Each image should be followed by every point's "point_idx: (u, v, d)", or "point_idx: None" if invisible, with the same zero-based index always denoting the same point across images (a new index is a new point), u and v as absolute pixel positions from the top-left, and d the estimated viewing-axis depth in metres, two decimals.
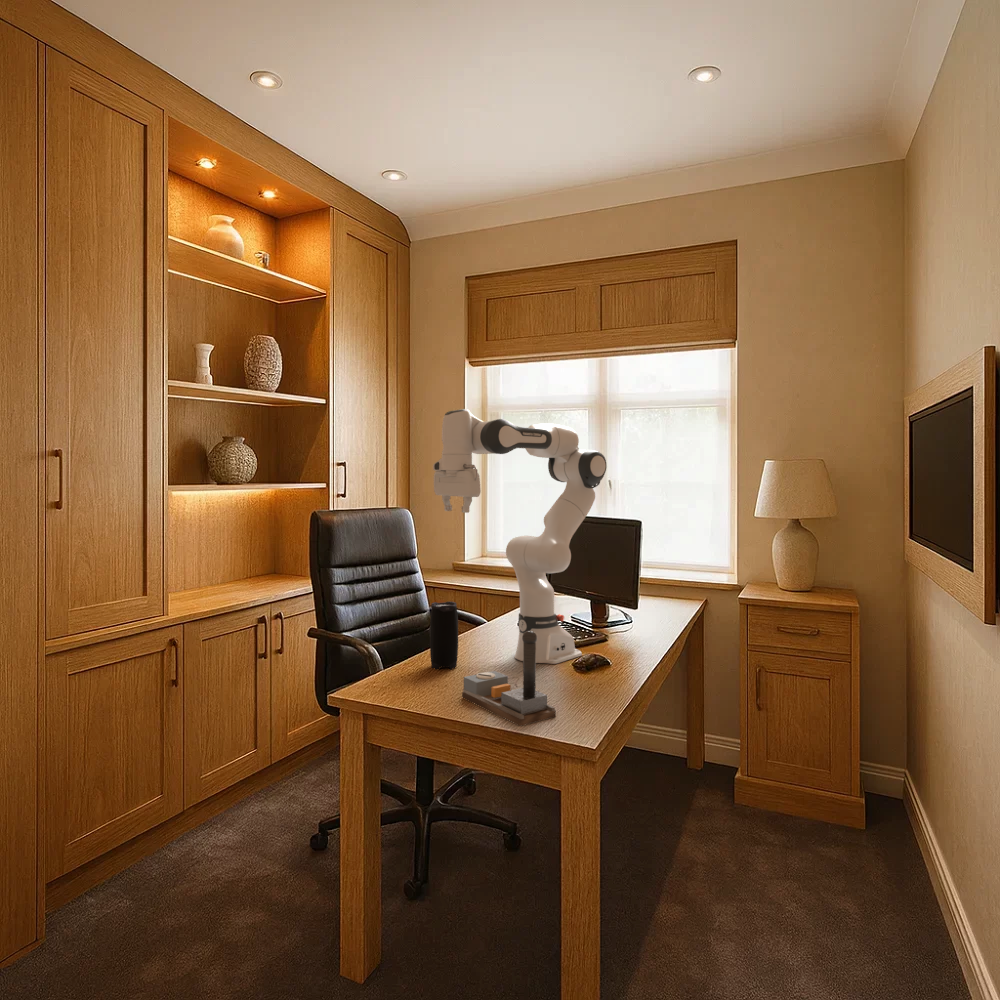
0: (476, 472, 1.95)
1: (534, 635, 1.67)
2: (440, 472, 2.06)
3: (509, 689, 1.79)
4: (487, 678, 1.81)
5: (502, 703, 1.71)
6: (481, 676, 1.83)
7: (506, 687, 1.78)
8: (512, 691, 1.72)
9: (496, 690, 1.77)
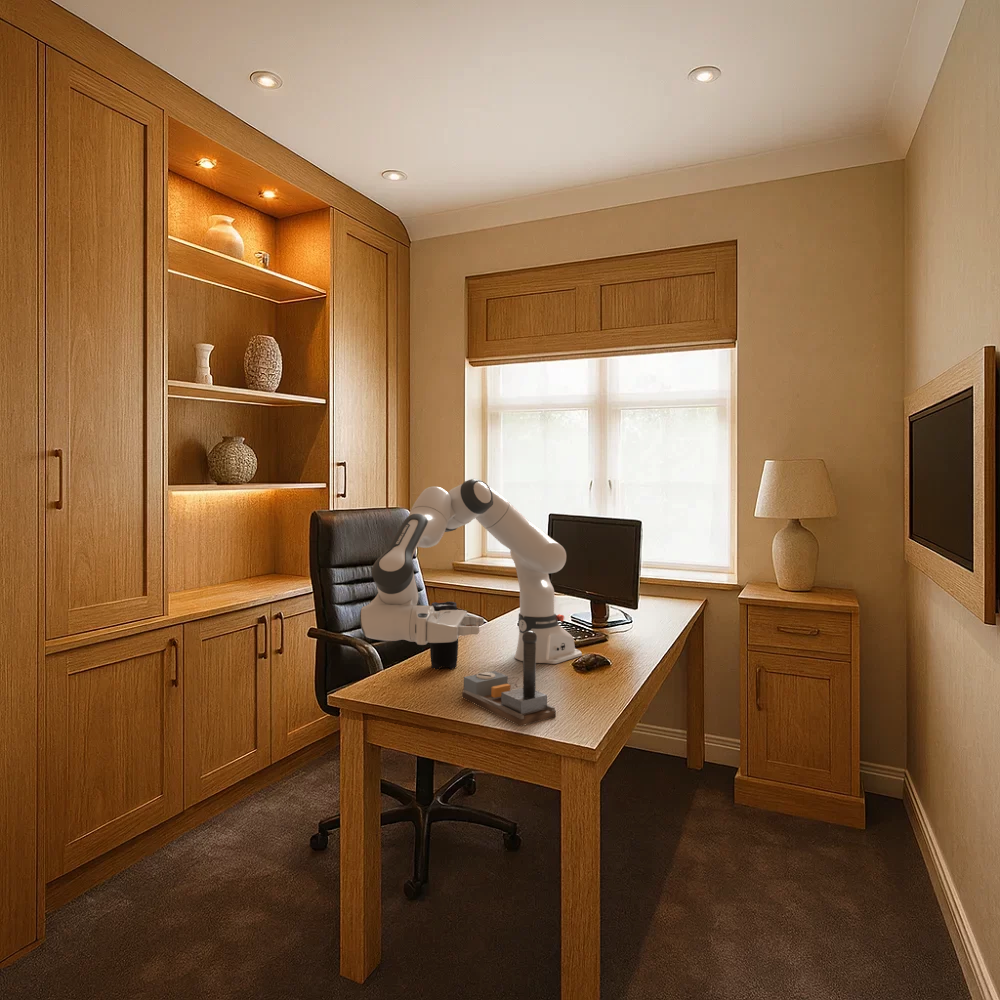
0: None
1: (534, 635, 1.67)
2: (431, 616, 1.66)
3: (509, 689, 1.79)
4: (487, 678, 1.81)
5: (502, 703, 1.71)
6: (481, 676, 1.83)
7: (506, 687, 1.78)
8: (512, 691, 1.72)
9: (496, 690, 1.77)
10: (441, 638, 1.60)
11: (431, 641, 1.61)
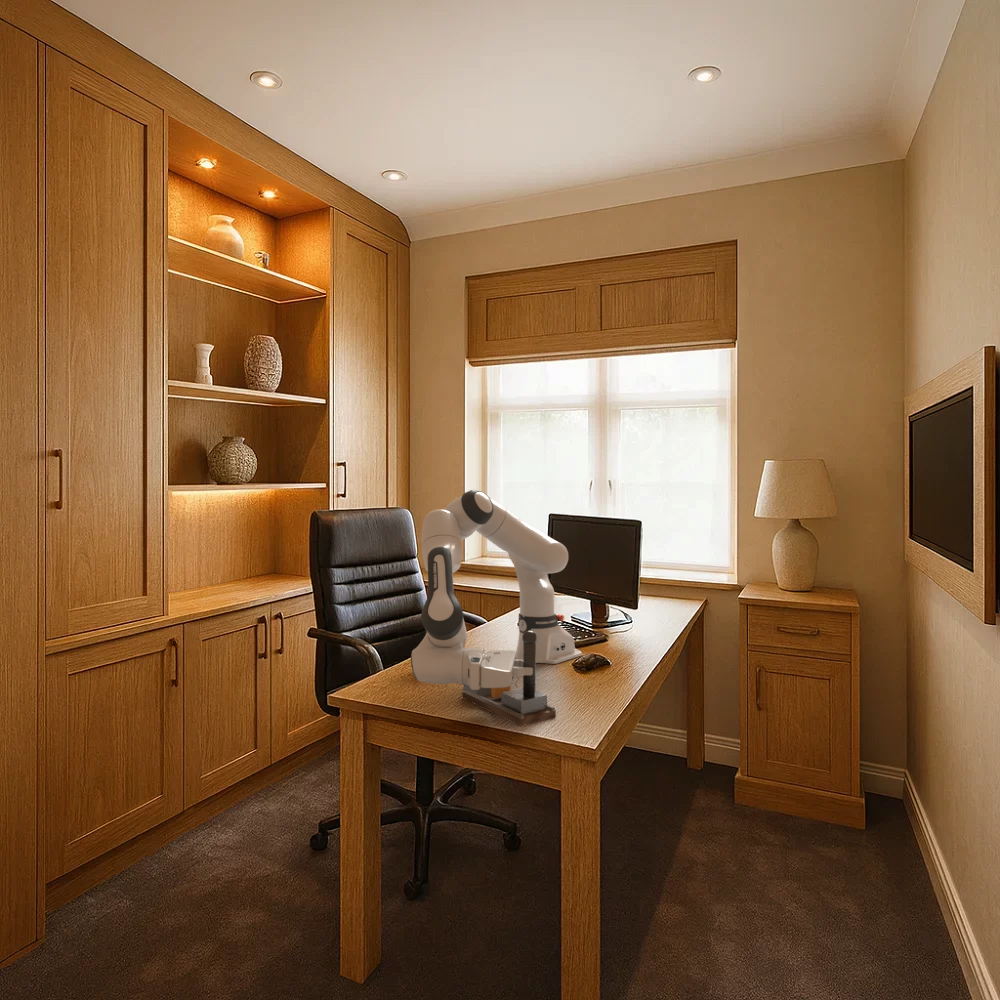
0: None
1: (534, 635, 1.67)
2: (483, 660, 1.65)
3: (509, 689, 1.79)
4: None
5: (502, 703, 1.71)
6: None
7: (506, 687, 1.78)
8: (512, 691, 1.72)
9: (496, 690, 1.77)
10: (495, 683, 1.60)
11: (485, 686, 1.60)
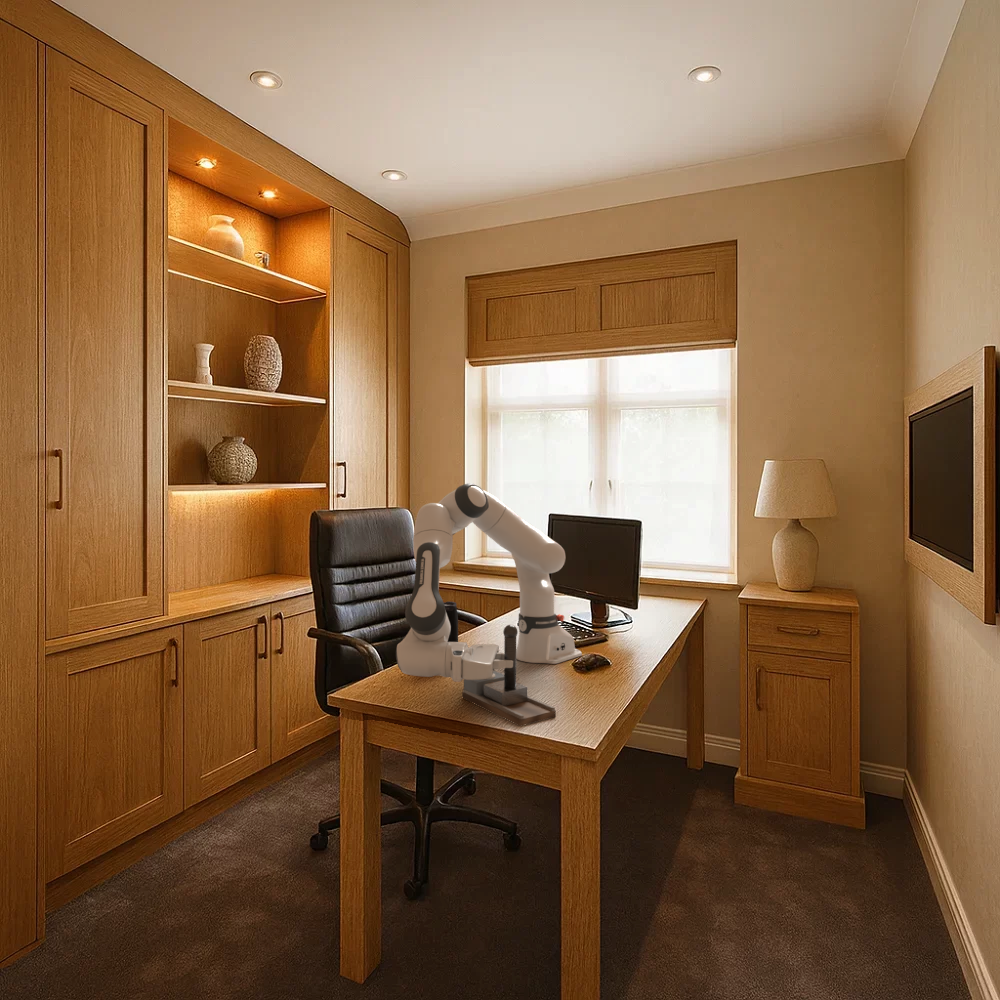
0: None
1: (515, 629, 1.74)
2: (466, 653, 1.71)
3: None
4: None
5: (484, 695, 1.78)
6: None
7: None
8: (494, 683, 1.79)
9: None
10: (476, 675, 1.66)
11: (467, 678, 1.67)
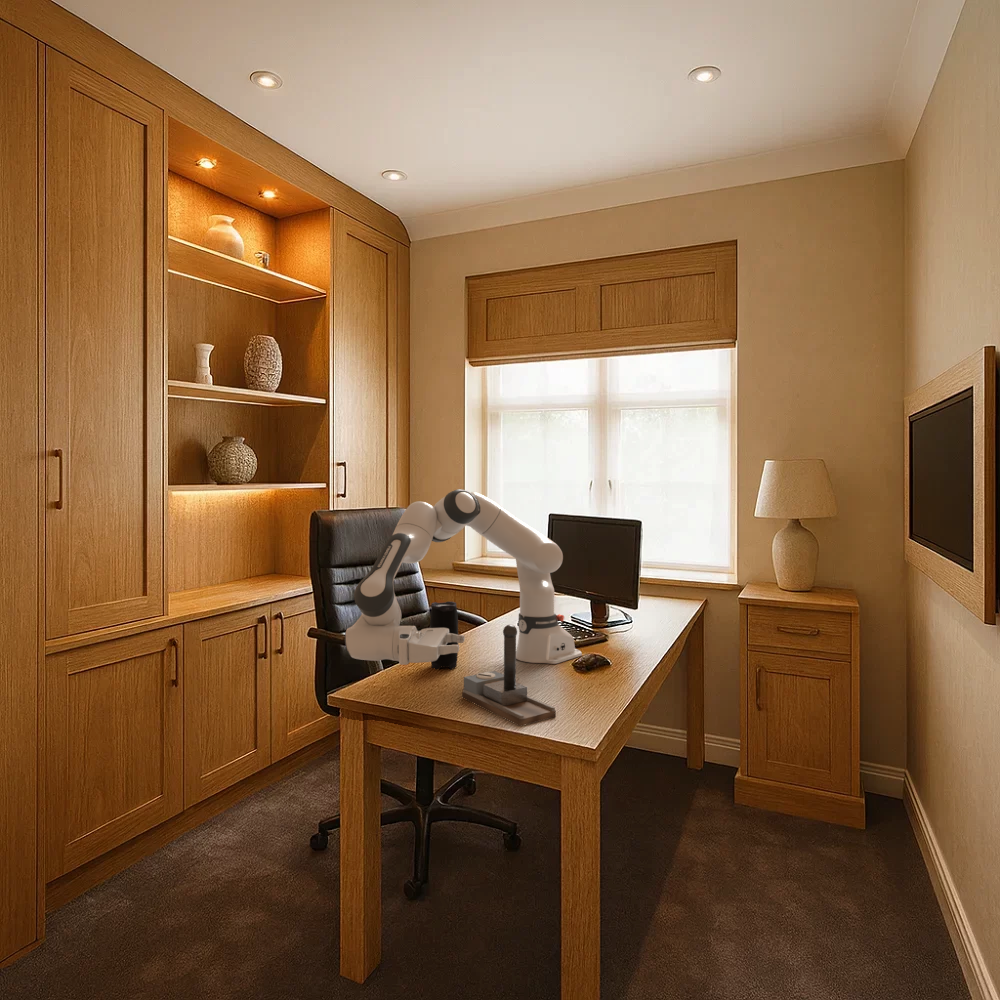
0: None
1: (514, 629, 1.74)
2: (412, 636, 1.73)
3: None
4: (487, 678, 1.81)
5: (484, 695, 1.78)
6: (481, 676, 1.83)
7: None
8: (494, 683, 1.79)
9: None
10: (422, 658, 1.67)
11: (413, 661, 1.68)
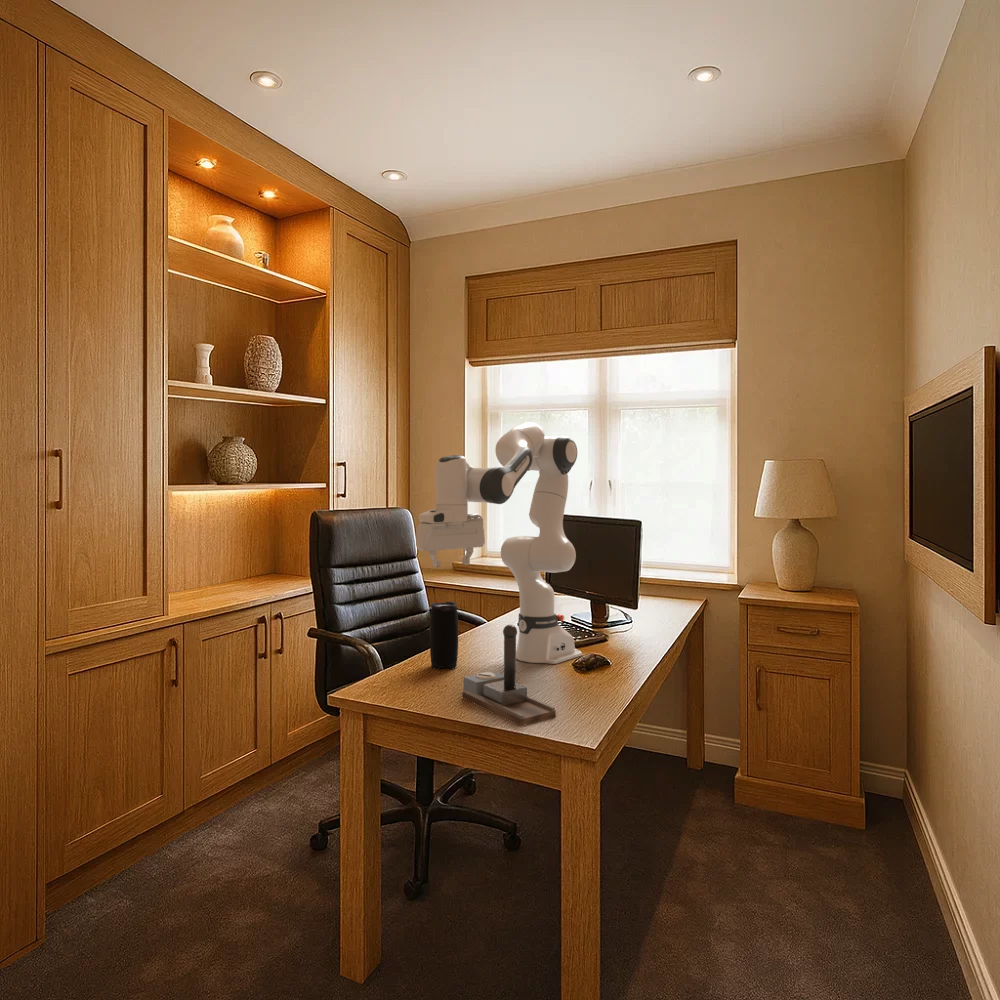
0: None
1: (514, 629, 1.74)
2: (442, 524, 1.84)
3: None
4: (487, 678, 1.81)
5: (484, 695, 1.78)
6: (481, 676, 1.83)
7: None
8: (494, 683, 1.79)
9: None
10: (417, 537, 1.84)
11: (417, 527, 1.85)
